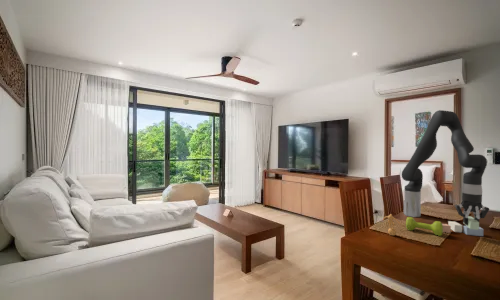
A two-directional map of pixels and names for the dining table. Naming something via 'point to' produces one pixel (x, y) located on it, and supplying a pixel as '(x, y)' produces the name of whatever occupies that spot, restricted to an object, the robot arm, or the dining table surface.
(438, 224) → the dumbbell
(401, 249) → the dining table surface
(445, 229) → the terracotta brick
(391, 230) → the figurine
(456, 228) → the cream brick
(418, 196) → the robot arm
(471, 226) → the sage brick
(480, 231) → the slate brick
